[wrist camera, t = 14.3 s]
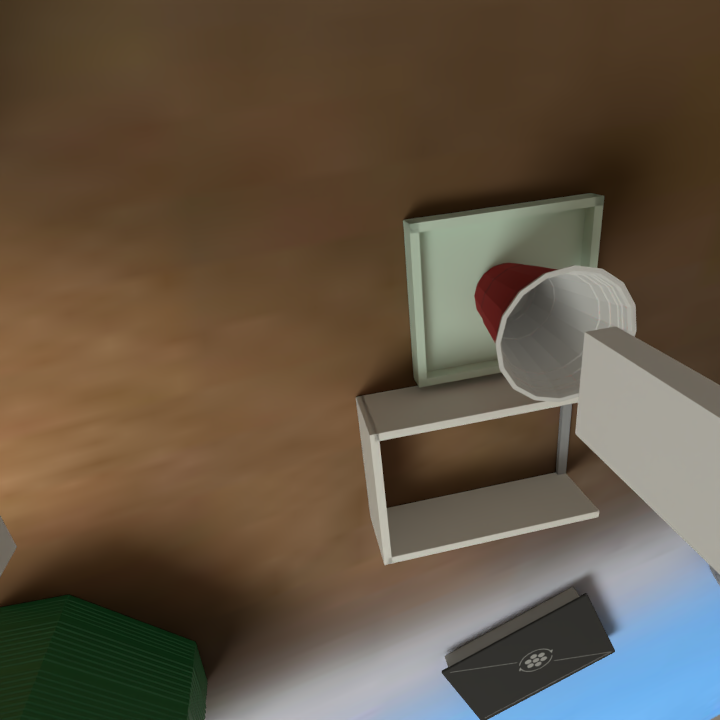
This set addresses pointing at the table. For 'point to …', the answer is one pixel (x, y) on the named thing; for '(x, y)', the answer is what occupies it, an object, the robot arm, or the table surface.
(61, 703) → the planter
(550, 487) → the frame
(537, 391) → the plastic cup
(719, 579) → the juice carton
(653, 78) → the table surface
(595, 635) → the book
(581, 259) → the tray
